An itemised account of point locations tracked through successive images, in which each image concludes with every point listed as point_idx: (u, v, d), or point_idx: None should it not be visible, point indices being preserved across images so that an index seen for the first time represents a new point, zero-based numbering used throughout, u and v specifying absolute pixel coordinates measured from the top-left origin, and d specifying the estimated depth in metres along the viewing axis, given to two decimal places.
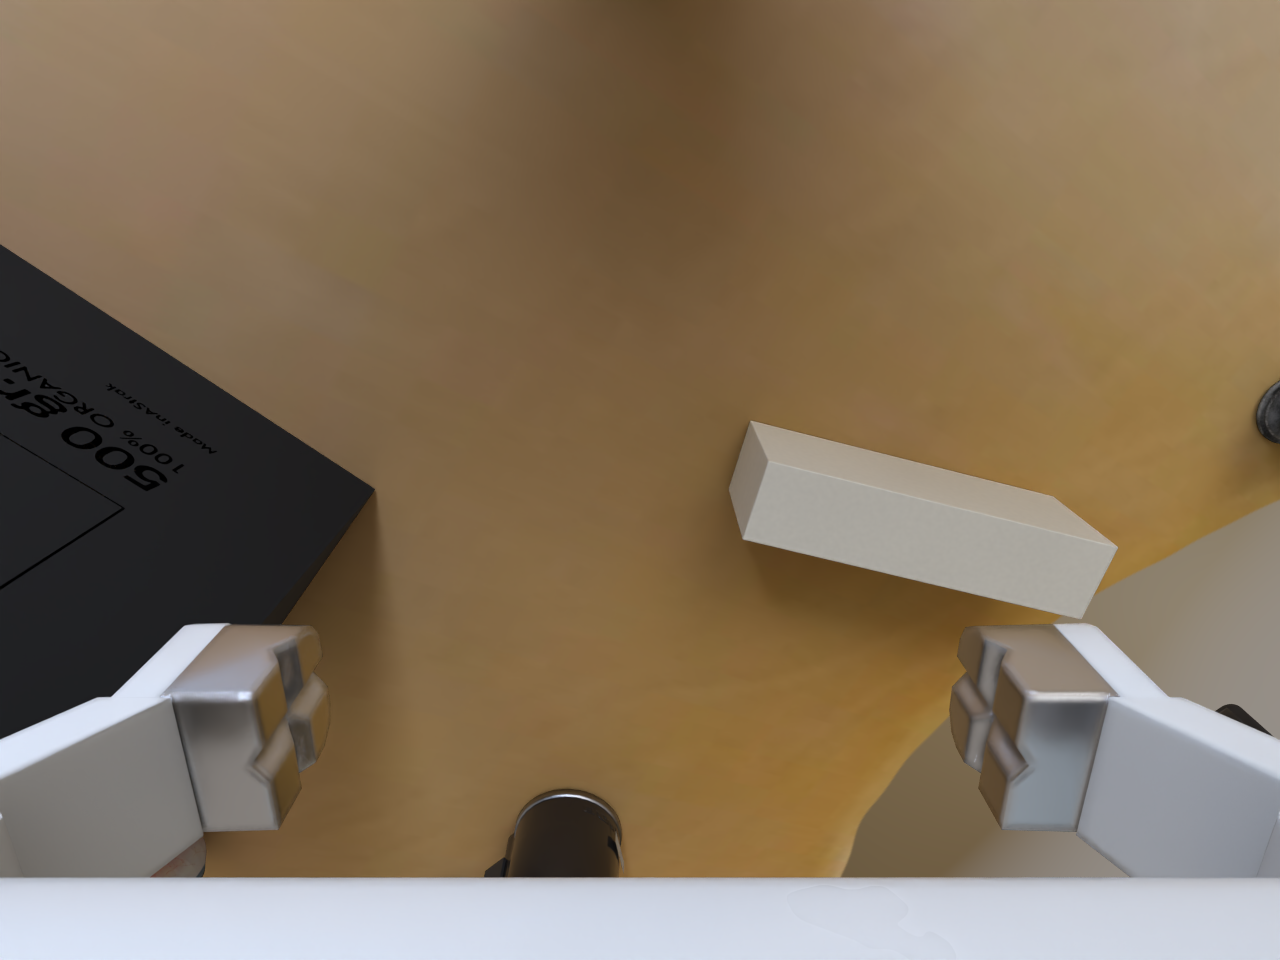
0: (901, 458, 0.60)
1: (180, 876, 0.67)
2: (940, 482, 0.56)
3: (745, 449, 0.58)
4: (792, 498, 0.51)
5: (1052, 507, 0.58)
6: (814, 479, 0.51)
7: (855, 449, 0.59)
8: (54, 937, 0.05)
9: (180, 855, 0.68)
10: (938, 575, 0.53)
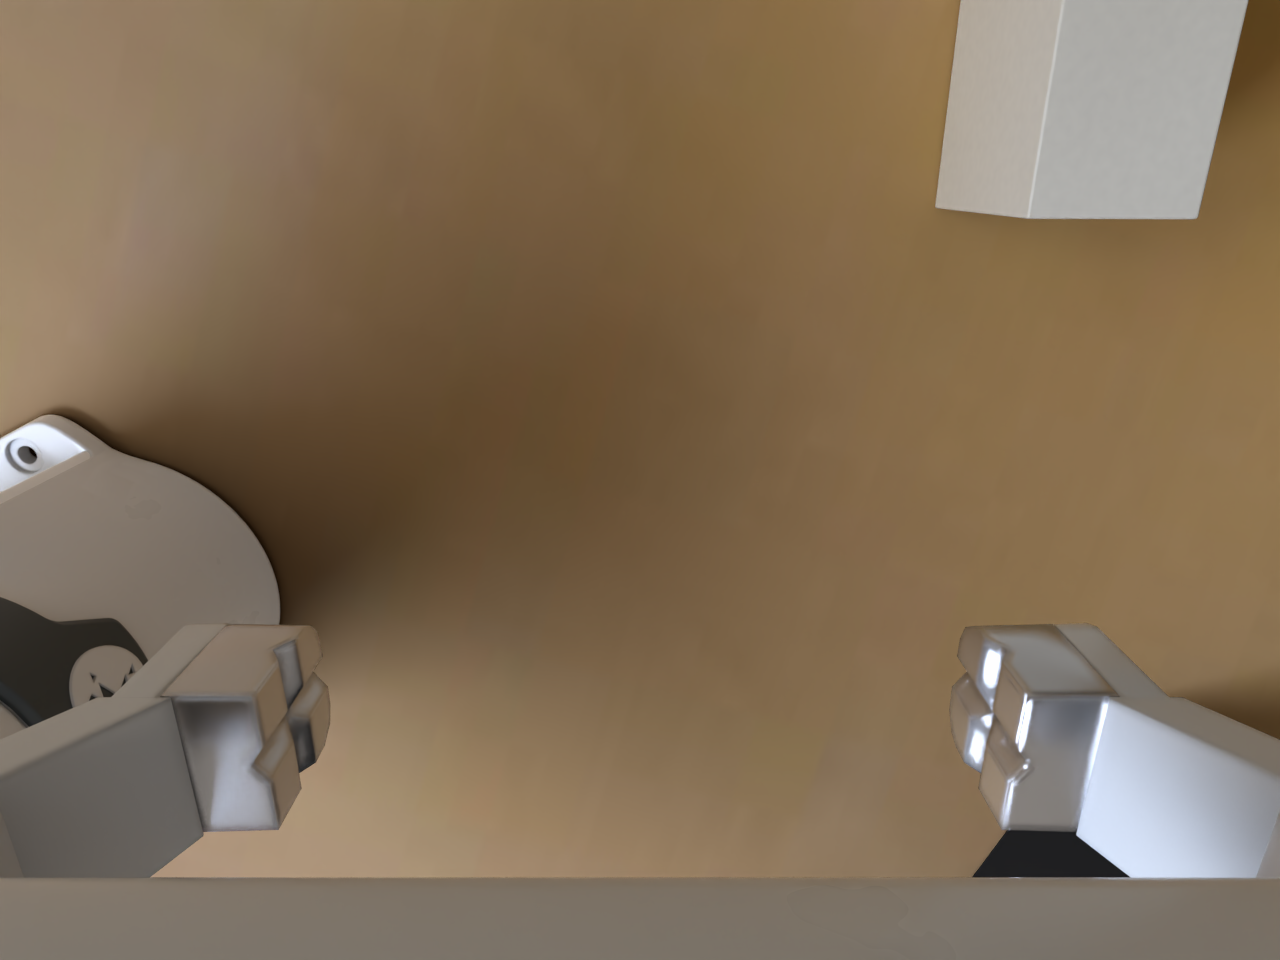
0: None
1: None
2: None
3: None
4: (1104, 143, 0.26)
5: None
6: (1060, 112, 0.25)
7: None
8: (54, 939, 0.05)
9: None
10: None
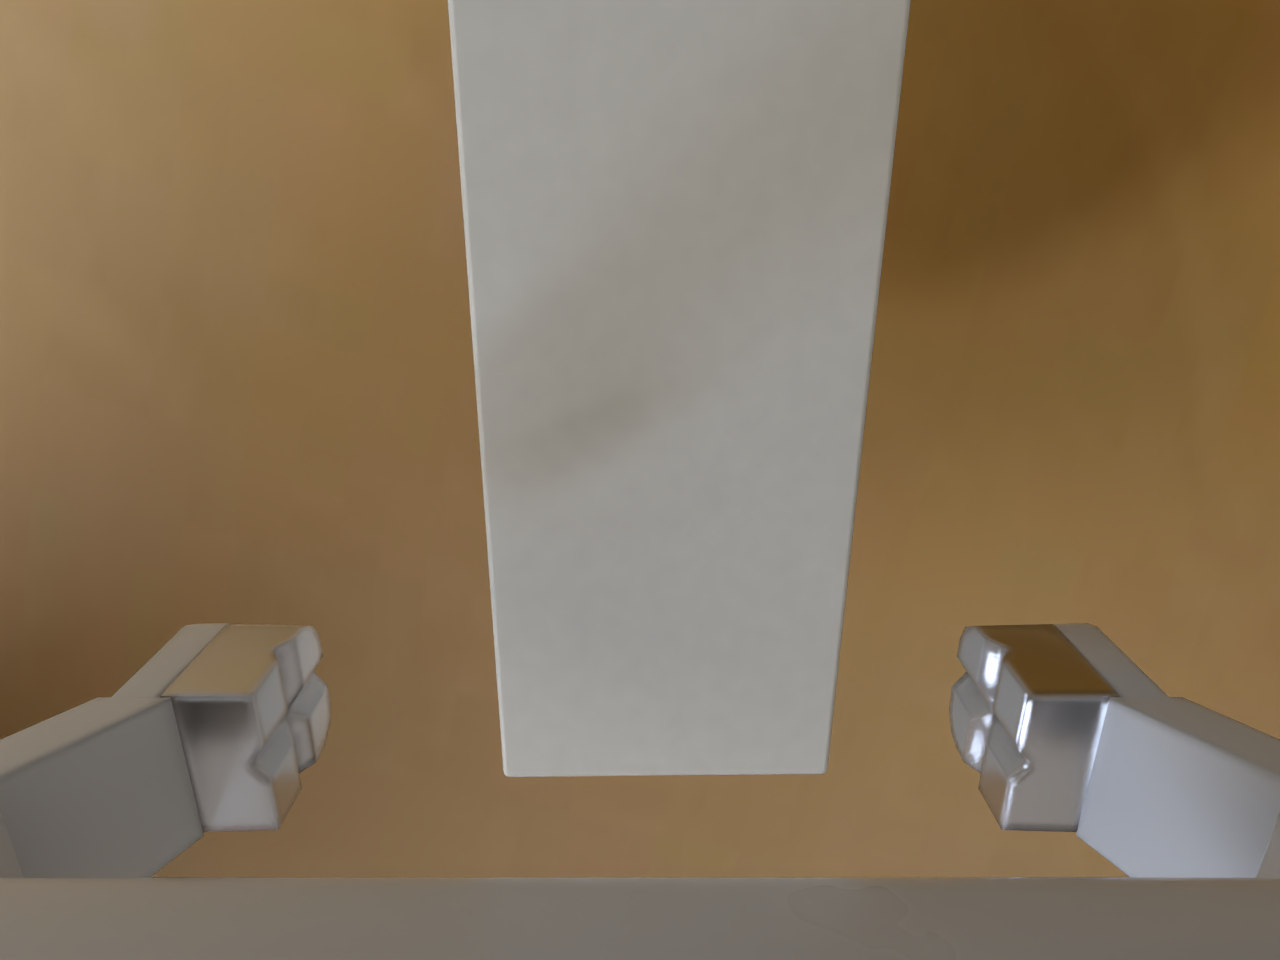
0: None
1: None
2: None
3: None
4: (621, 666, 0.13)
5: None
6: (523, 617, 0.13)
7: None
8: (53, 937, 0.05)
9: None
10: None
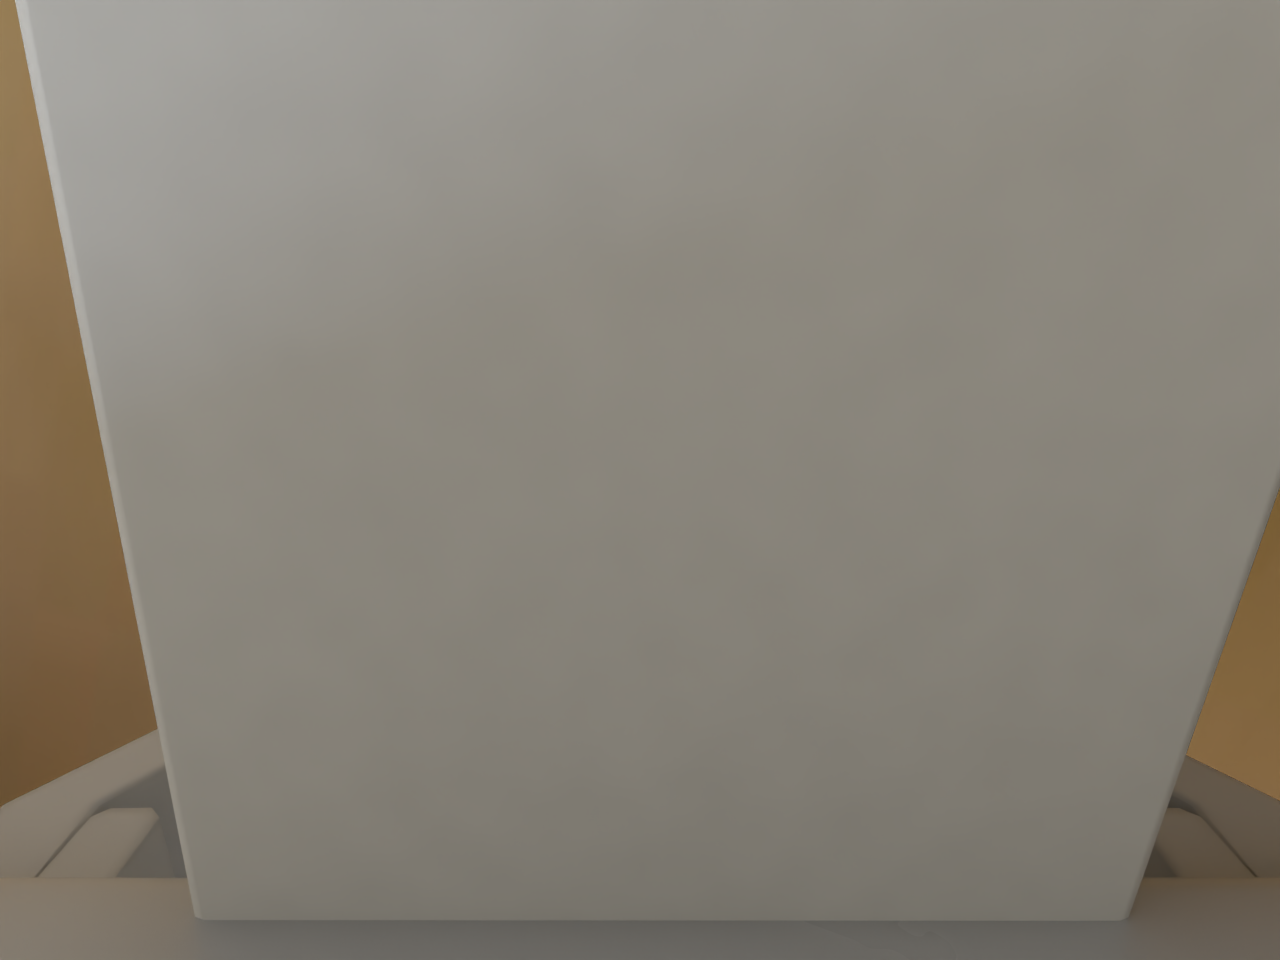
0: None
1: None
2: None
3: None
4: None
5: None
6: None
7: None
8: (51, 938, 0.05)
9: None
10: None
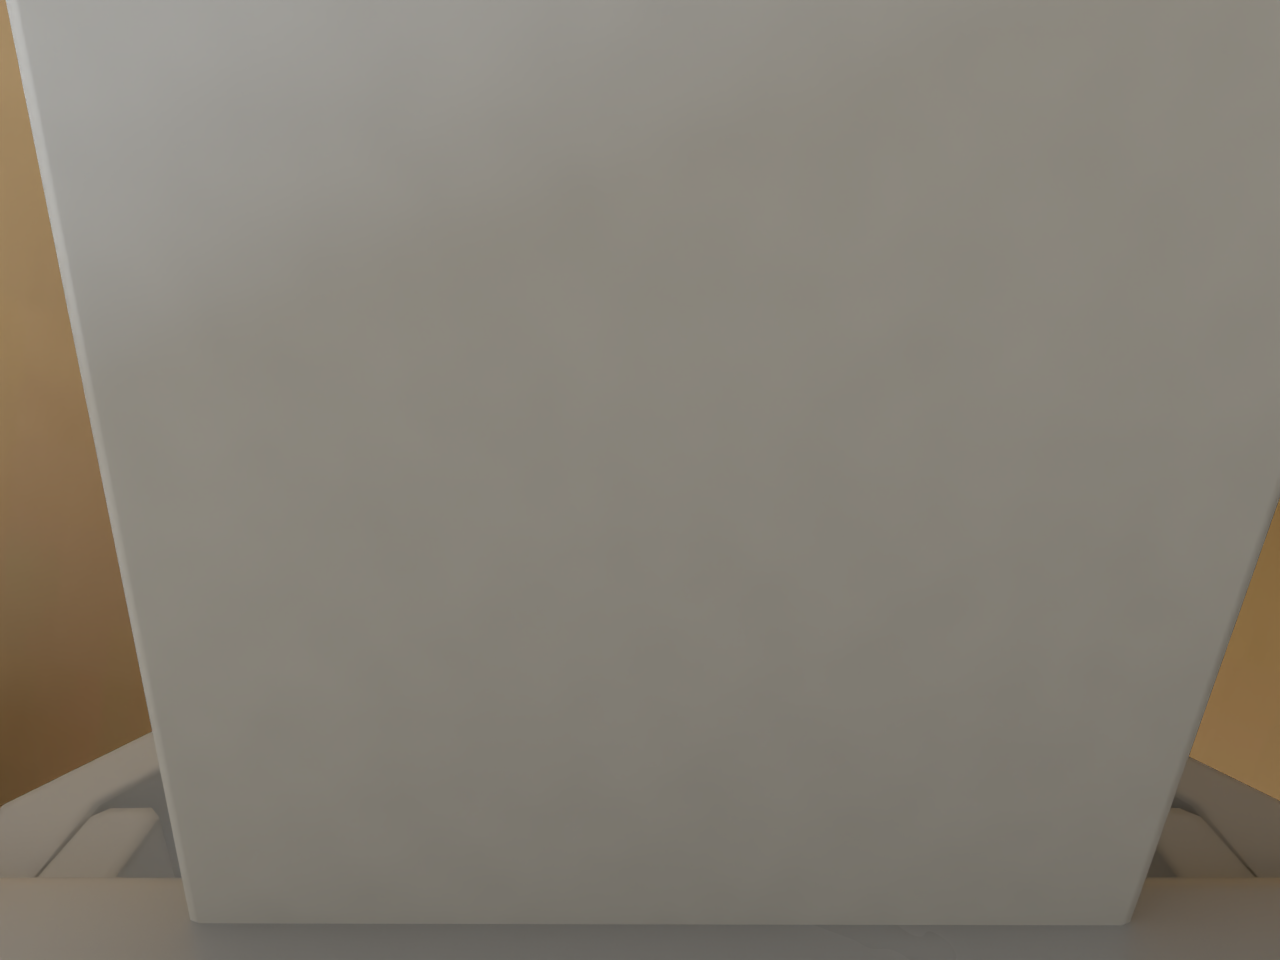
0: None
1: None
2: None
3: None
4: None
5: None
6: None
7: None
8: (53, 940, 0.05)
9: None
10: None
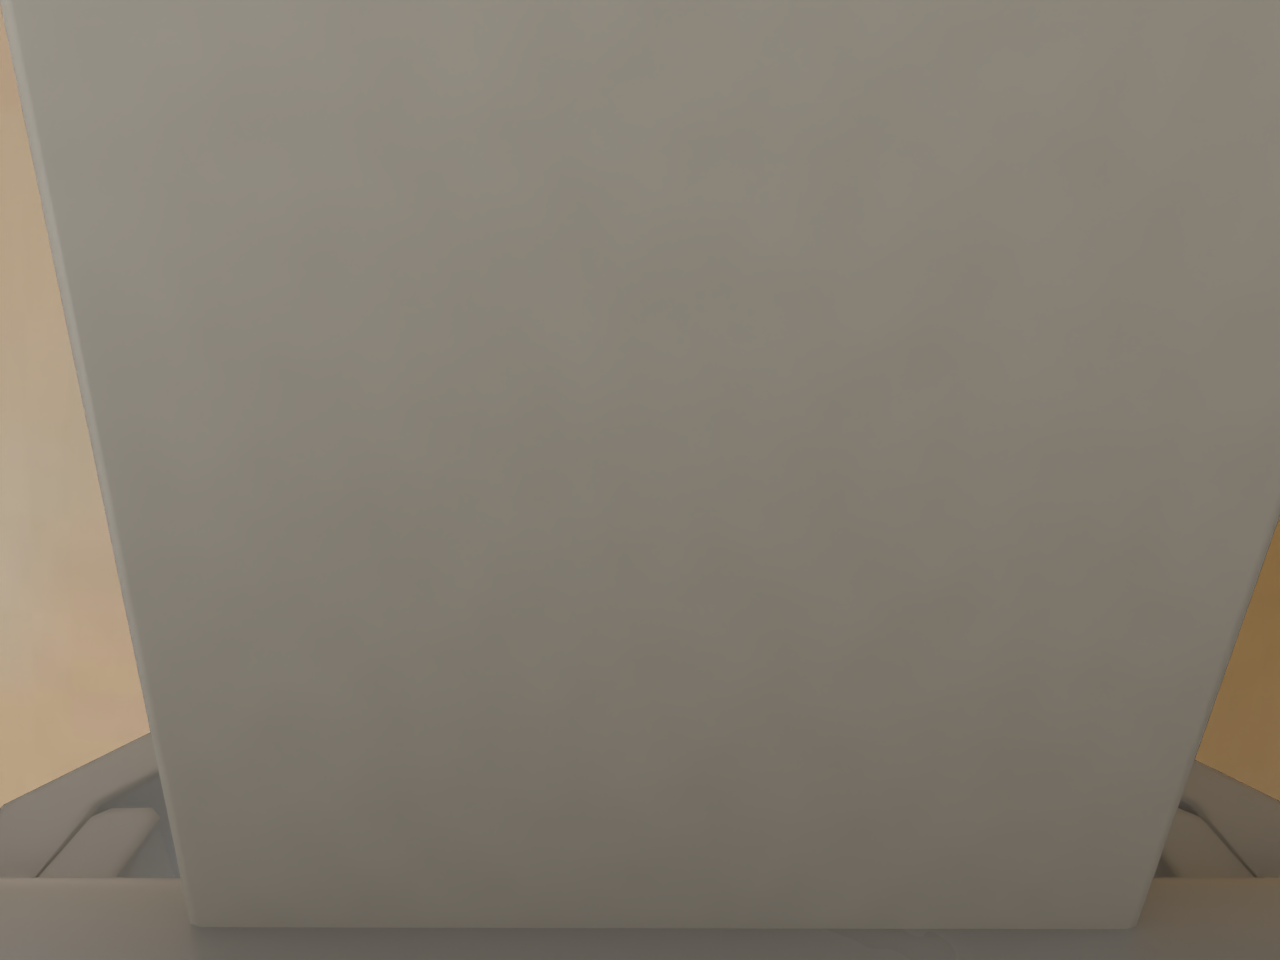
0: None
1: None
2: None
3: None
4: None
5: None
6: None
7: None
8: (56, 938, 0.05)
9: None
10: None
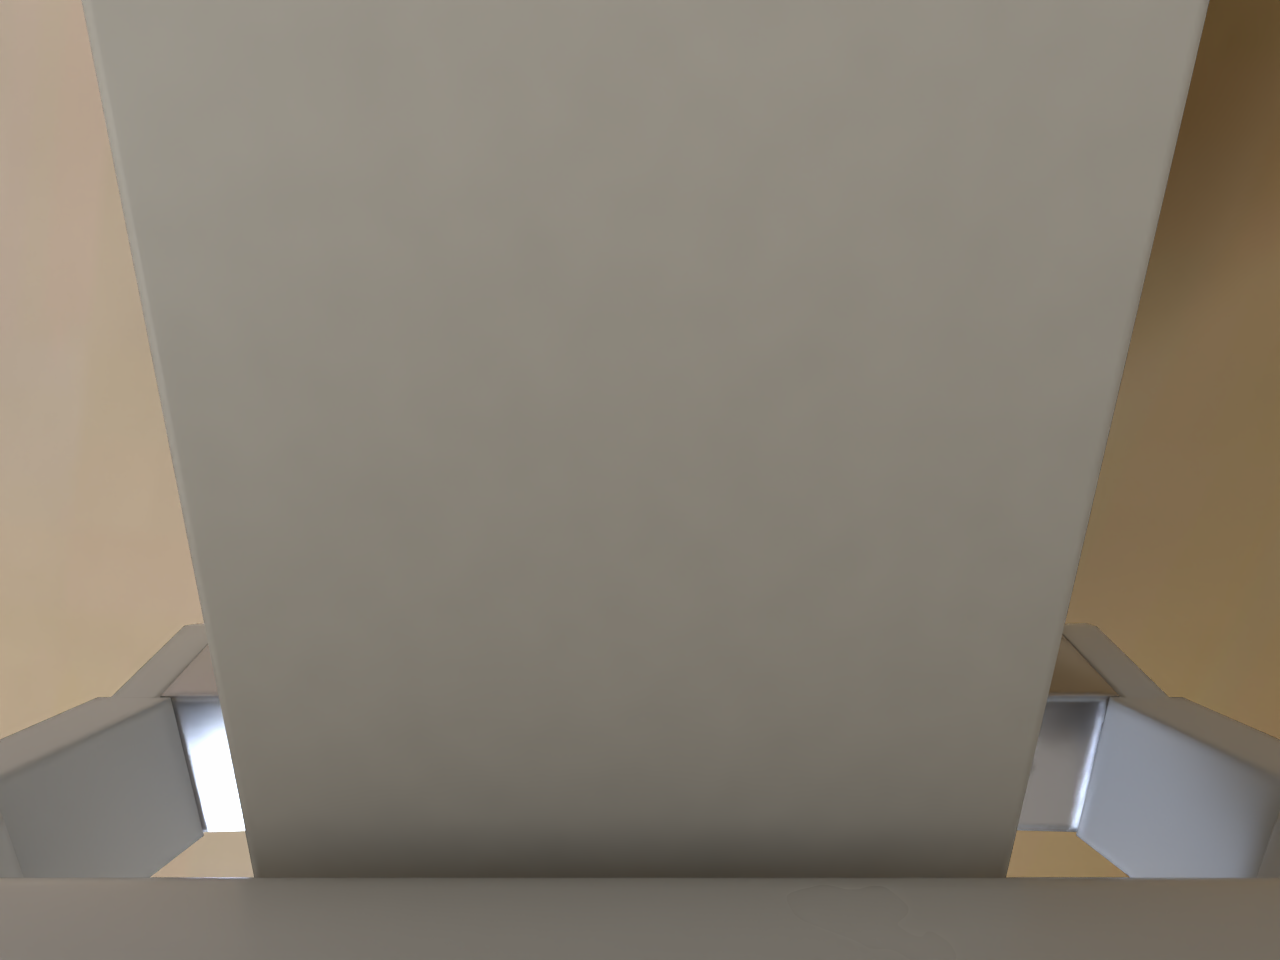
0: None
1: None
2: None
3: None
4: None
5: None
6: None
7: None
8: (54, 939, 0.05)
9: None
10: None
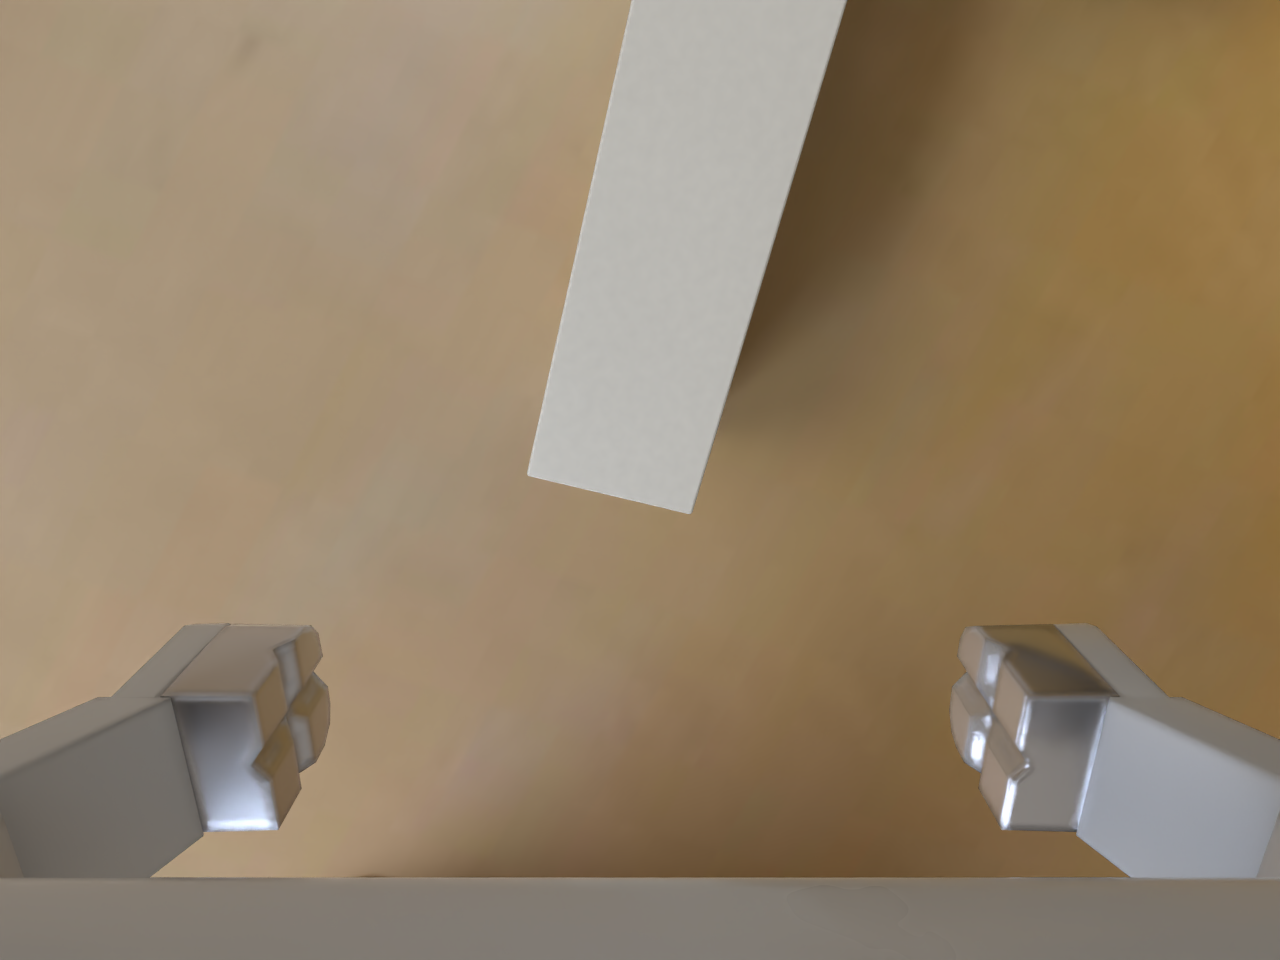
0: None
1: None
2: None
3: None
4: (603, 426, 0.26)
5: None
6: (562, 387, 0.25)
7: None
8: (53, 939, 0.05)
9: None
10: (795, 79, 0.22)
